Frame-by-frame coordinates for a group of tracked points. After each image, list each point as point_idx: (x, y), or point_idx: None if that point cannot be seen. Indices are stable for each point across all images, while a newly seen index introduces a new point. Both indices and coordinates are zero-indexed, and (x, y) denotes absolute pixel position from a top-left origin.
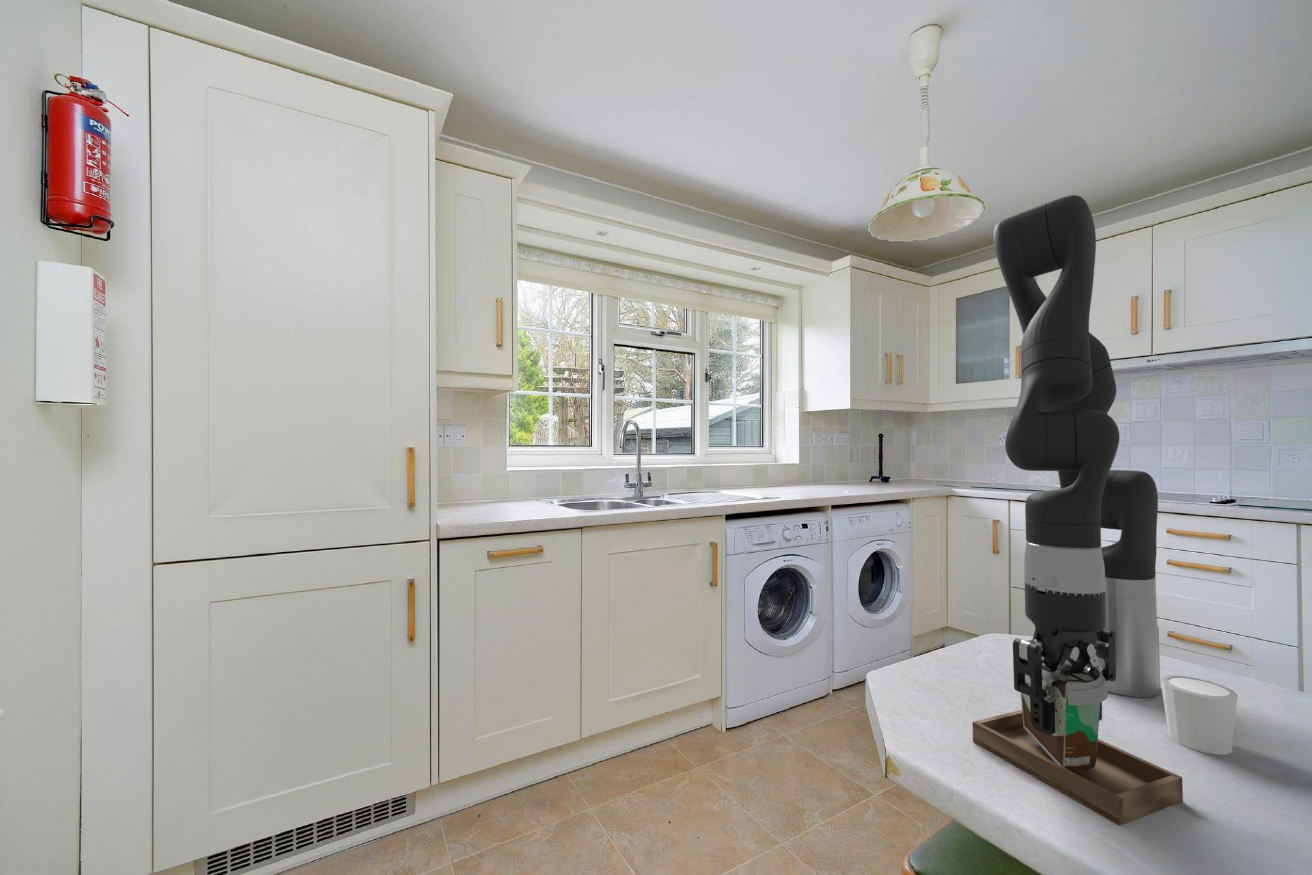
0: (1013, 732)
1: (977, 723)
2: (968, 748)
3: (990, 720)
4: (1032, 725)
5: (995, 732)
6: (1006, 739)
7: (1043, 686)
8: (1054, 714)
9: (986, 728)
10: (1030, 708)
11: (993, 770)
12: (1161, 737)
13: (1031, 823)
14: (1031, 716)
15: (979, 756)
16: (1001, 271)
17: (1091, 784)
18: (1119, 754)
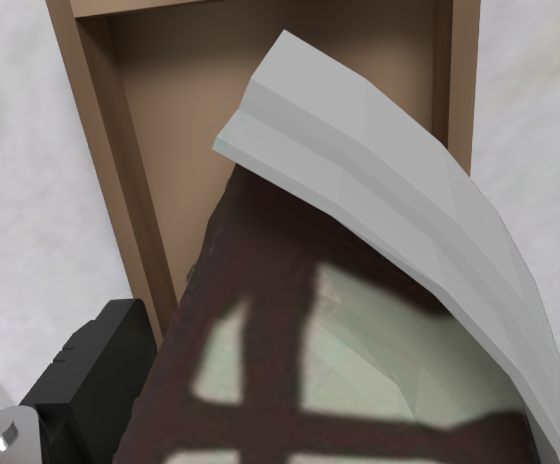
0: (289, 11)
1: (60, 14)
2: (42, 36)
3: (145, 5)
4: (112, 300)
5: (90, 112)
6: (98, 170)
7: (122, 437)
8: (126, 427)
9: (71, 72)
10: (43, 373)
11: (49, 177)
12: None
13: (8, 357)
14: (65, 350)
15: (52, 96)
16: None
17: None
18: None
